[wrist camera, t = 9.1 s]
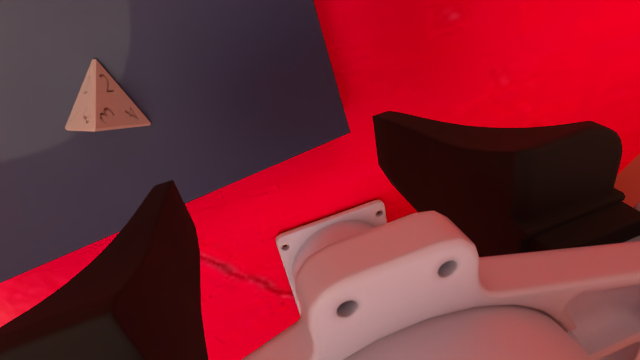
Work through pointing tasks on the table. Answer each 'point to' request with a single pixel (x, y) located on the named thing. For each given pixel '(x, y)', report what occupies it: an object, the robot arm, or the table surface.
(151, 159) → the book
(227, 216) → the table surface
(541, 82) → the table surface
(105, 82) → the tetrahedral die
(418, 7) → the table surface
